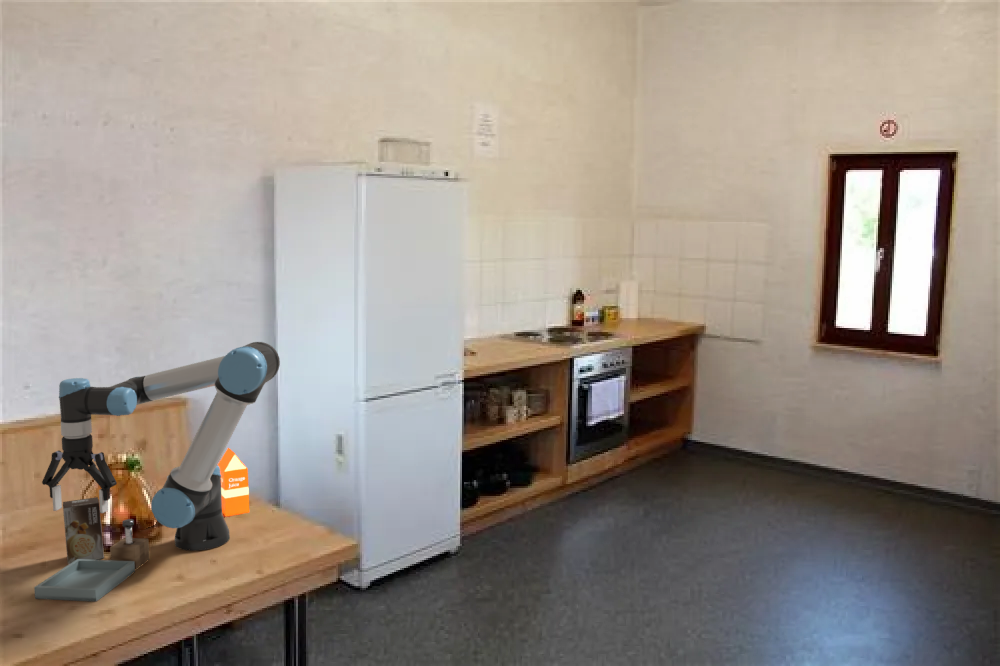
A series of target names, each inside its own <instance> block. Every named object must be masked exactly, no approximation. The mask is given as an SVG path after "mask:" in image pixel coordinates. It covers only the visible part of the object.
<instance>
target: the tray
mask: <svg viewBox="0 0 1000 666" xmlns="http://www.w3.org/2000/svg"><path fill="white" fill-rule="evenodd" d="M135 571H136V570H135V564H134V561H116V560H111V559H95V560H92V559H77V560H75V561H74V562H72V563H71V564H67V565H65V566H64V567H63V568H61V569H60V570H58V571H57V572H55V573H53V574H52V575H50V576H49V577H48V578H46V579H44V580H43V581H42V582H40V583H38V584H37V585H36V586H34V587H33V588H34V590H33V591H34V599H35V600H51V601H52V600H53V601H55V600H56V601H58V600H59V601H75V602H76V601H77V602H78V601H79V602H98V601H99V600H100V599H102V598H103V597H105V595H107V594H108V593H109V592H112V590H113V589H114V588H115V589H116V587H117V586H118V585H120V584H122V582H124V581H125V580H126V579H128V578H129V577H130V576H132V575H133V574H134V573H135ZM133 572H134V573H133ZM132 573H133V574H132ZM131 574H132V575H131ZM128 576H129V577H128ZM127 577H128V578H127Z"/></svg>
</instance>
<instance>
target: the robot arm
mask: <svg viewBox="0 0 1000 666" xmlns="http://www.w3.org/2000/svg"><path fill="white" fill-rule="evenodd" d="M280 364H281V361H280V356H279V353H278V351H277V350H276V349H275V348H274V347H273V345H270V344H269V343H267V342H263V341H254V342H250V343H247V344H245V345H243V346H240V347H236V348H234V349H232V350H231V351H229V352H228V353H227V354H225V355H223V356H219V357H218V356H217V357H214V358H210V359H206V360H203V361H198V362H195V363H194V362H193V363H190V364H187V365H182V366H177V367H174V368H170V369H165V370H162V371H158V372H154V373H150V374H146V375H142V376H134V377H132V378H129V379H127V380H124V381H122V382H119V383H115V384H114V385H111V386H91V383H90V380H89V379H88V378H83V377H76V378H66V379H64V380H63V379H62V380H61V381H60V383H59V384H58V386H59V387H58V389H59V391H58V399H59V409H60V411H59V412H60V413H59V414H60V433H61V436H62V438H61V449H62V451H61V450H56V451H54V452H52V453H51V458H50V459H51V461H50V463H49V465H48V468H47V470H46V472H45V475H44V476H43V479H42V481H41V484H42V485H44V486H45V485H46V486H48V488H49V497H50V499H52V507H53V509H52V510H53V512H57V511H58V510H61V509H63V502H62V486H61V485H60V481H61V480H62V479H63V478H64V476H65V475H66V474H67V473H68V472H69V471H70V469H71V470H76V469H77V470H84V471H85V472H86V473H88V474H89V475H90V476H91V477H92V479H93V480H94V481H95V482H96V484H97V485H98V486H99V487H100V489H99V490H98V497H99V498H98V499H99V507H100V514H104V513H106V512H107V511H109V502H108V501H109V500H110V499H111V488H113V487H114V486H116V485H117V483H118V482H117V481H116V479H115V477H114V474H113V472H112V471H111V468H110V467H109V465H108V463H107V461H106V459H105V457H106V456H105V454H104V452H102V451H101V452H99V453H94V452H93V447H94V446H93V445H94V444H93V443H94V442H93V435H92V432H93V431H92V430H93V428H92V427H93V426H92V416H93V415H95V416H99V415H101V416H117V417H120V416H130V415H131V414H133V413H134V411H135V410H136V408H137V406H138V405H141V404H145V403H150V402H153V401H156V400H160V399H165V398H169V397H173V396H177V395H182V394H186V393H189V392H194V391H198V390H202V389H206V388H210V387H214V388H215V390H216V394H215V396H214V398H213V399H212V402H211V404H210V405H209V407H208V409H207V411H206V414H205V416H204V418H203V420H202V422H201V424H200V426H199V428H198V429H197V432H196V433H195V435H194V436H193V437H194V438H192V441H191V444H190V445H189V446H188V449H187V451H186V454H185V456H184V457H183V460H182V461H181V463H180V466H177V467H173V468H172V469H171V470H170V472H169V474H168V475H169V476H168V475H167V476H168V478H167V477H166V481H165V483H164V484H163V486H162V487H161V488H160V489H159V490H157V491H156V493H155V494H154V496H153V497H152V499H151V502H150V509H151V512H152V513H153V516H154V518H155V520H156V521H157V522H158V523H160V524H161V525H162V526H164V527H167V528H170V529H176V531H175V535H174V546H175V547H176V548H177V549H180V550H183V551H193V552H194V551H205V550H211V549H214V548H218V547H220V546H223V545H224V544H227V543H228V542H229V540H230V536H231V535H230V528H229V526H228V524H227V522H226V519H225V516H224V514H223V513H222V495H221V474H220V467H219V466H218V463H219V462H220V460H221V459H222V457H223V455H224V453H225V450H226V447H227V446H228V444H229V442H230V440H231V438H232V436H233V434H234V432H235V430H236V429H237V426H238V424H239V422H240V420H241V419H242V416H243V414H244V412H245V410H246V409H247V406H249V405H253V404H255V403H256V401H257V400H258V397H259V396H260V393H261V391H262V390H263V387H264V385H265V384H266V383H268V382H269V381H270V380H273V378H275V376H276V375H277V373H278V372H279V368H280V366H281V365H280ZM61 460H63V461H64V463H63V464H62V466H61V468H60V469H59V470H58V472H57V469H58V467H59V465H60V462H61ZM56 472H57V473H56Z"/></svg>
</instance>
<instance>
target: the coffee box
mask: <svg viewBox="0 0 1000 666" xmlns="http://www.w3.org/2000/svg"><path fill="white" fill-rule="evenodd" d="M98 497H99V496H94V497H90V498H89V497H88V498H82V499H75V500H74V499H72V500H67V501H63V502H62V511H63V513H62V514H63V523H64V524H63V525H64V534H65V537H64V538H65V547H66V557H67V565H69V564H71V563H72V562H74V561H75V560H77V559H92V560H102V559H104V558H105V556H104V545H103V542H104V541H103V534H102V533H103V531H102V520H101V519H102V518H101V513H100V501H99V498H98Z"/></svg>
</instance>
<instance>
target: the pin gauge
mask: <svg viewBox="0 0 1000 666" xmlns="http://www.w3.org/2000/svg"><path fill="white" fill-rule="evenodd" d="M134 525H135V520H134V519H133V518H128V519H124V520H122V527H123V528H124V535H125V536H124V538H126V545H132V544H133V538H134V537H133V526H134Z"/></svg>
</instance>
